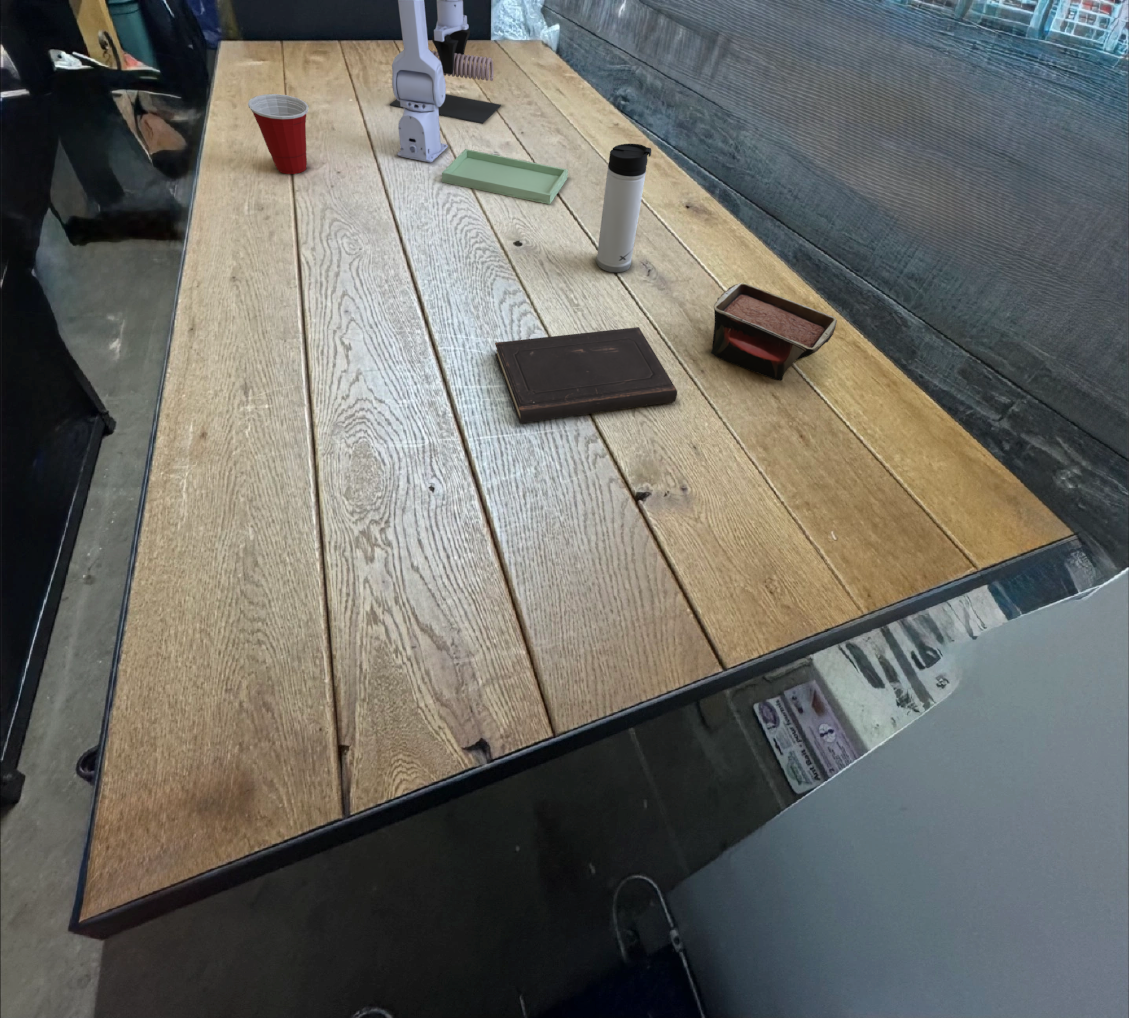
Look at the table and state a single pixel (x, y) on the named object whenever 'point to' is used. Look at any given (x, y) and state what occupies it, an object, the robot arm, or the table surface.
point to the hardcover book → (582, 374)
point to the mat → (463, 108)
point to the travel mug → (621, 206)
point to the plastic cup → (283, 129)
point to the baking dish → (766, 330)
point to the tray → (505, 176)
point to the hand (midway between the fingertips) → (452, 69)
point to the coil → (467, 69)
